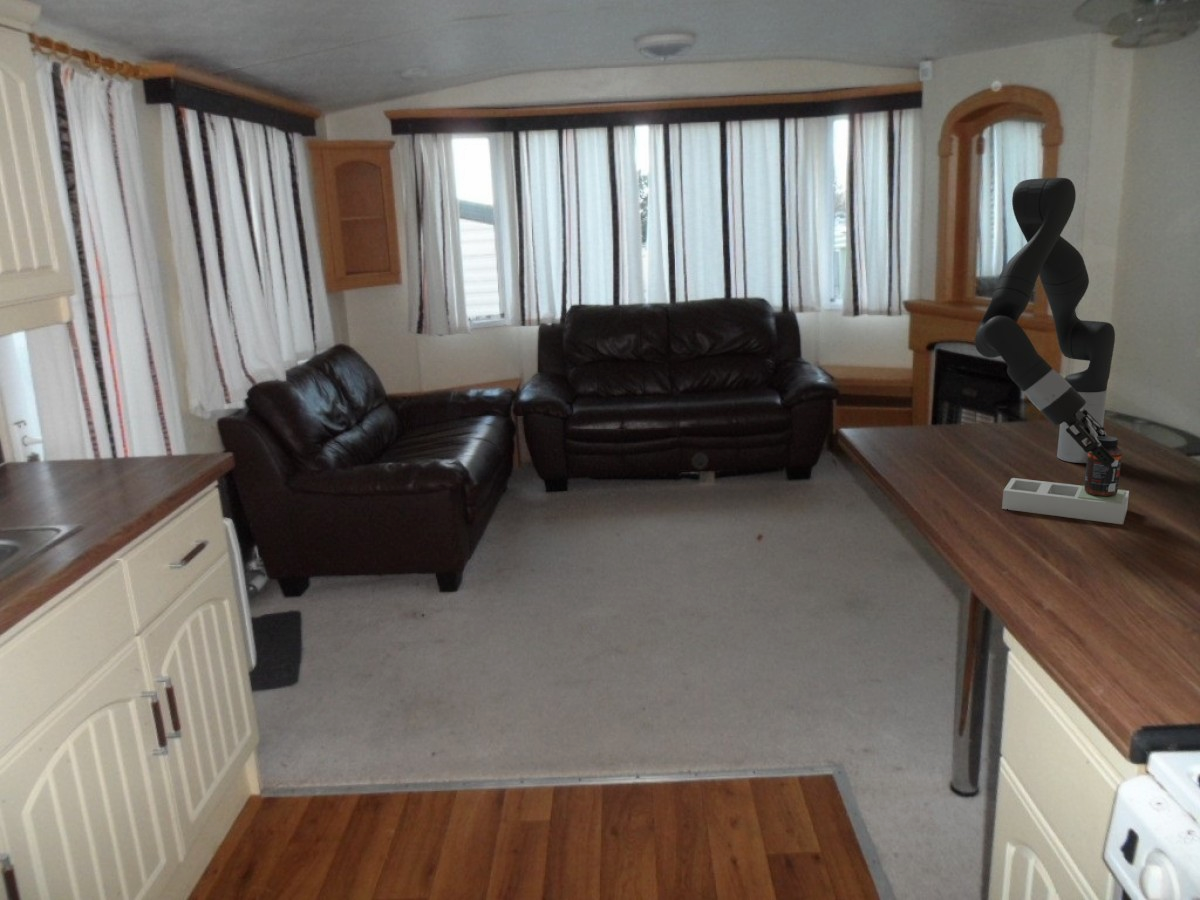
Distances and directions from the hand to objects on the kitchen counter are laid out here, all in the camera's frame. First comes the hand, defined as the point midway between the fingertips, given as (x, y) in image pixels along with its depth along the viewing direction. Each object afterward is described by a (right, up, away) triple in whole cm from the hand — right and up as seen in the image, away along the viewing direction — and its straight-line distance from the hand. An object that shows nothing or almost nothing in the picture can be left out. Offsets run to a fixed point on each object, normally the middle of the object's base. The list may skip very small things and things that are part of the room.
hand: (1113, 458), depth 186 cm
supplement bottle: (-1, -7, +3) cm, 8 cm away
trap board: (-6, -10, +7) cm, 14 cm away
